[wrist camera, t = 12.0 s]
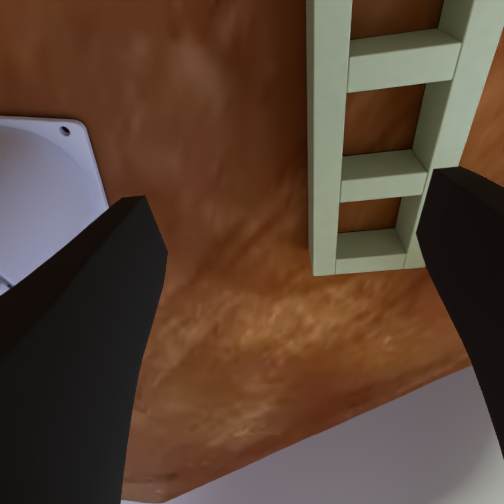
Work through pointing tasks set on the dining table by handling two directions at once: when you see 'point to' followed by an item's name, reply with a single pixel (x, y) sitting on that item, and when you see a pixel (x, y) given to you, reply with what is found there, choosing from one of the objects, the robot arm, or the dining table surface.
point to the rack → (394, 162)
